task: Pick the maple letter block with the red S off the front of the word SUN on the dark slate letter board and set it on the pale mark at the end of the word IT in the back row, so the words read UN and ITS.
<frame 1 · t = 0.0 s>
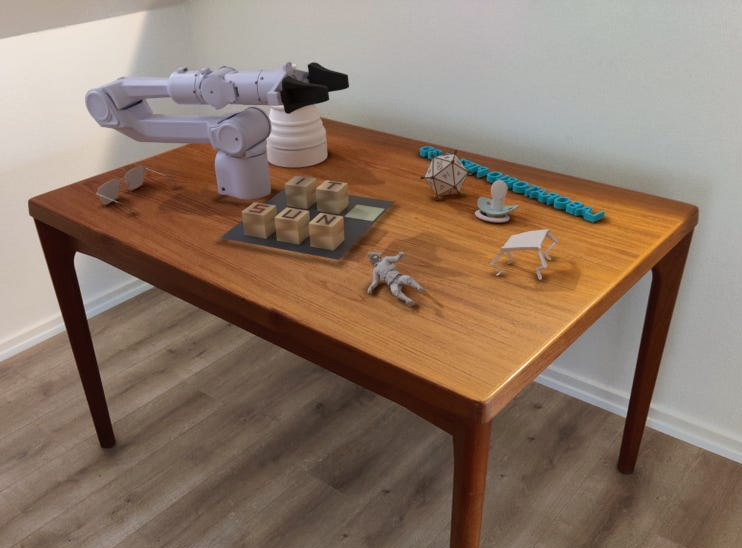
hand: (338, 87, 120), 22 cm above the table, tool horizontal, fingers open, 7 cm apart
s block: (261, 231, 124), point 1 cm above the table, touching letter board
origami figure: (529, 268, 114), on the table
game die: (445, 196, 137), on the table
letter board: (311, 224, 128), on the table
pacifier: (494, 217, 129), on the table
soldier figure: (394, 291, 109), on the table
eyeglasses: (140, 198, 140), on the table
text ornament: (501, 183, 141), on the table
honey pot: (297, 157, 156), on the table
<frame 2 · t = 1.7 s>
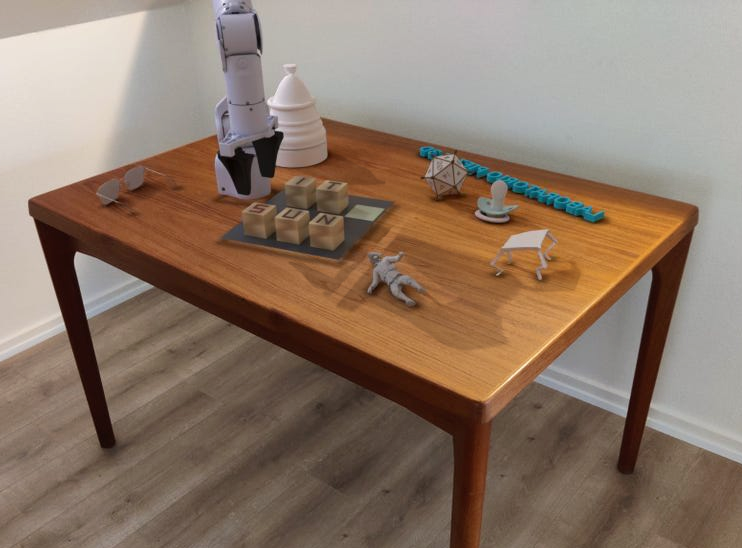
hand: (256, 185, 119), 9 cm above the table, tool pointing down, fingers open, 7 cm apart
nothing on the table moved.
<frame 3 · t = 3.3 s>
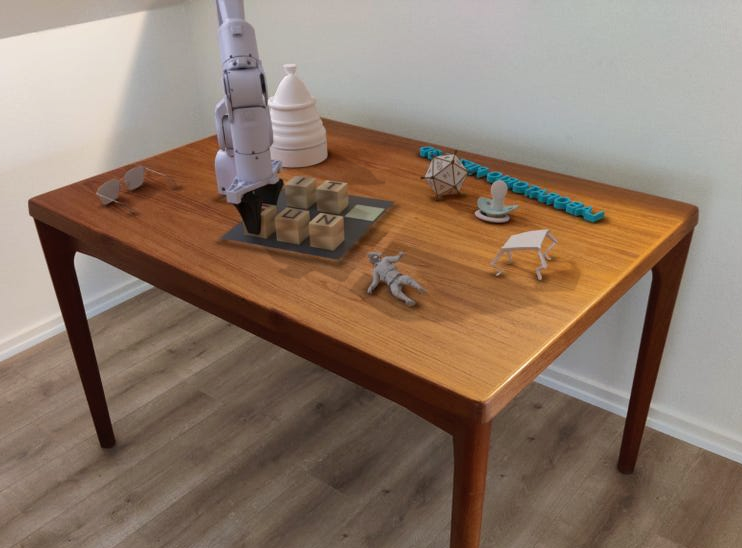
hand: (261, 227, 124), 2 cm above the table, tool pointing down, fingers closed on s block, 4 cm apart
s block: (261, 231, 124), point 1 cm above the table, touching gripper, letter board
everything else where it was.
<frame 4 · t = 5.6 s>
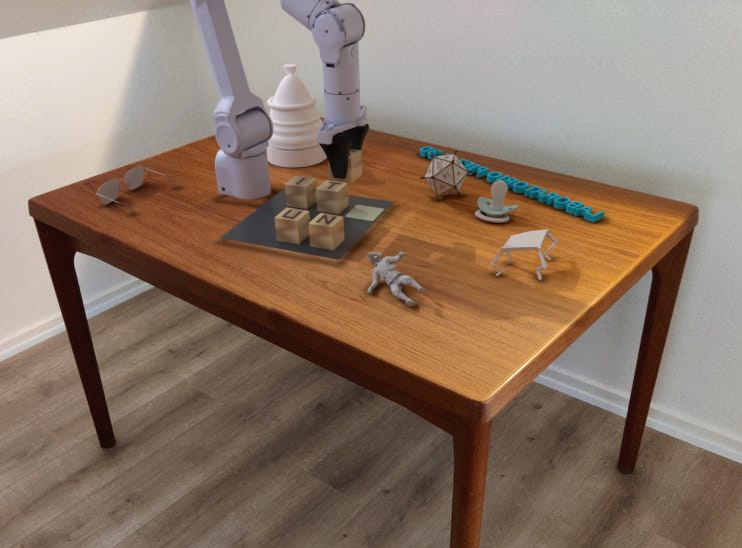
hand: (345, 172, 124), 9 cm above the table, tool pointing down, fingers closed on s block, 4 cm apart
s block: (345, 177, 124), point 8 cm above the table, touching gripper
everything else where it was.
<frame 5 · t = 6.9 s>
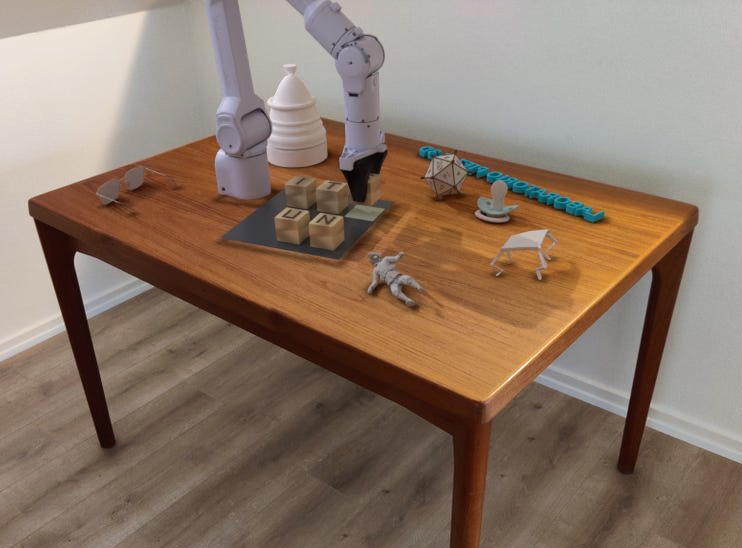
hand: (364, 196, 127), 4 cm above the table, tool pointing down, fingers closed on s block, 4 cm apart
s block: (364, 200, 128), point 3 cm above the table, touching gripper
everything else where it was.
when the fingers open (2 cm above the table, at t = 8.0 s): s block stays where it is, resting on letter board.
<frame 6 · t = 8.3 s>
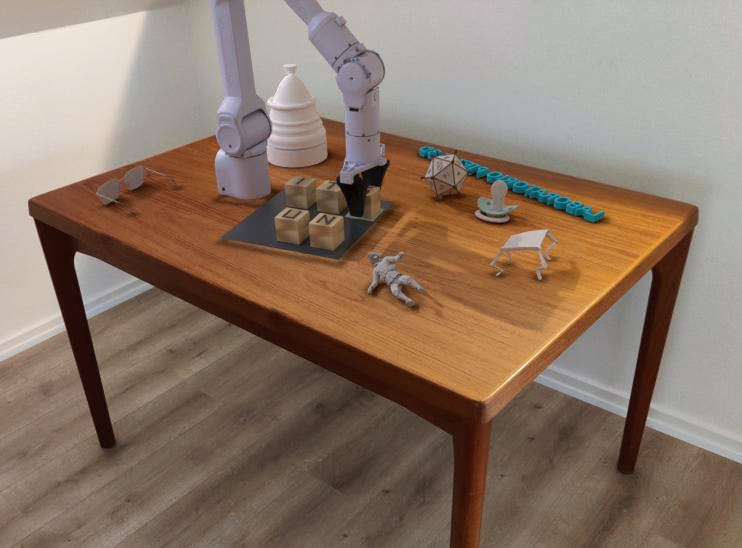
hand: (364, 208, 129), 2 cm above the table, tool pointing down, fingers open, 6 cm apart
s block: (365, 212, 129), point 1 cm above the table, touching letter board
everything else where it was.
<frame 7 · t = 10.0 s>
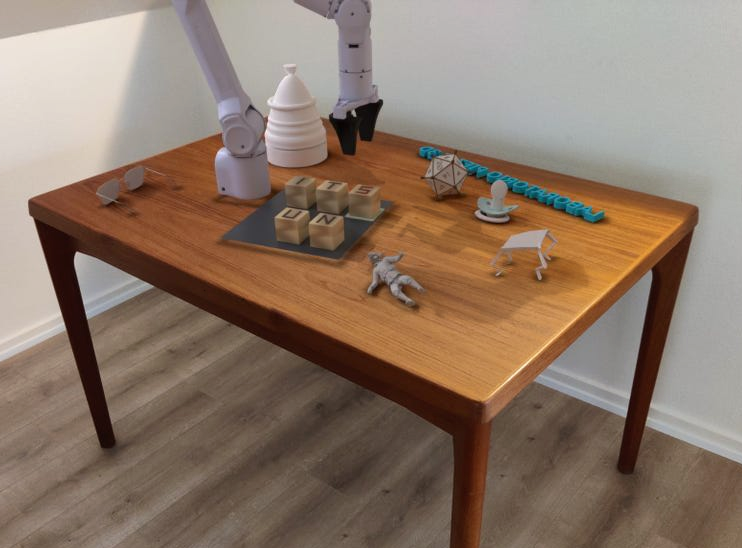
hand: (357, 147, 132), 9 cm above the table, tool pointing down, fingers open, 7 cm apart
nothing on the table moved.
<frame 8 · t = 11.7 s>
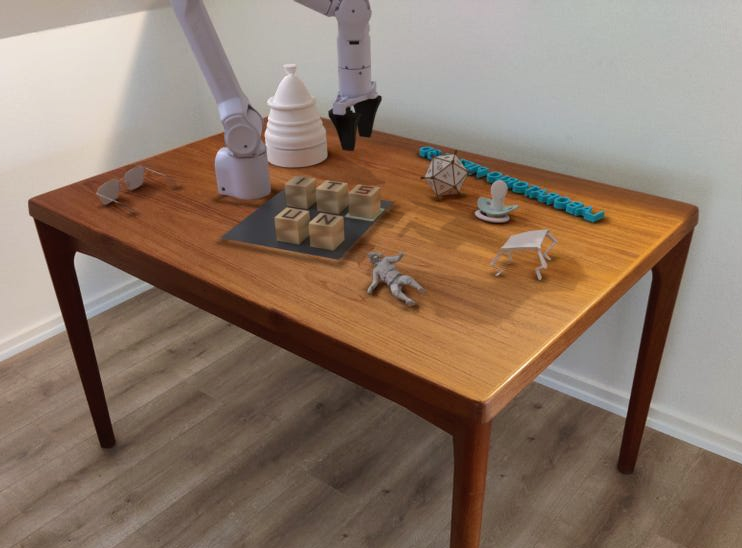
hand: (356, 143, 134), 9 cm above the table, tool pointing down, fingers open, 7 cm apart
nothing on the table moved.
at the end: s block 0.0 cm from the target spot, point 1.1 cm above the table; s block tilted 0°; the gripper is holding nothing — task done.
